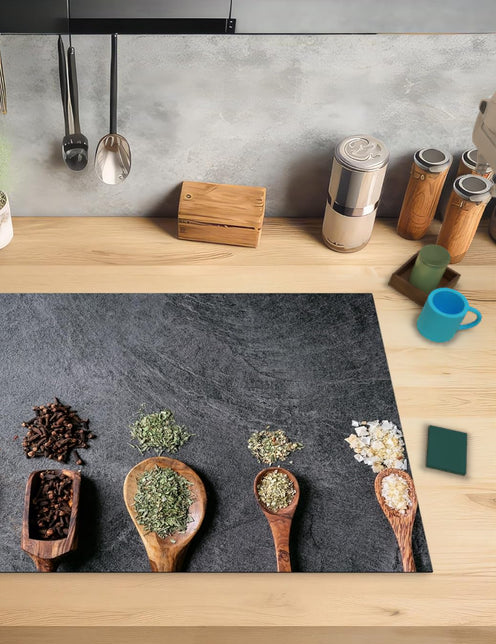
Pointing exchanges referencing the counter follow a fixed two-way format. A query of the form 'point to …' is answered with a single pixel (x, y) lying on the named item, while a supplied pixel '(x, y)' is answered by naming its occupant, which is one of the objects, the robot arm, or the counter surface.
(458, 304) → the mug
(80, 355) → the counter surface
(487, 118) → the robot arm
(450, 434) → the mat
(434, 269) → the green pot
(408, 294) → the tray
